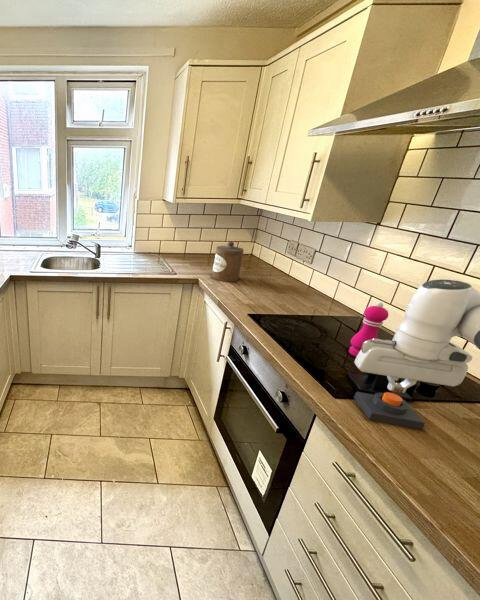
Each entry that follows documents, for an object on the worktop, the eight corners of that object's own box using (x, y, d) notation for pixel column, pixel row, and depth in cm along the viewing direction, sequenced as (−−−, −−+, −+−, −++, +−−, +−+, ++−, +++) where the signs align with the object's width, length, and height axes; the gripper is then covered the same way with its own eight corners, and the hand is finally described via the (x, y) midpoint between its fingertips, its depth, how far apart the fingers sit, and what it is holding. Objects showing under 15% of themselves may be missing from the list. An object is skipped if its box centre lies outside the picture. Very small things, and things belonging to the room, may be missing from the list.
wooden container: (207, 274, 198) (213, 239, 189) (231, 274, 198) (238, 239, 189) (217, 281, 184) (223, 244, 176) (242, 281, 184) (250, 244, 176)
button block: (401, 406, 87) (407, 394, 85) (422, 429, 79) (428, 417, 77) (353, 397, 90) (358, 386, 89) (368, 419, 82) (374, 407, 81)
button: (395, 399, 84) (397, 393, 84) (403, 407, 81) (405, 402, 80) (378, 396, 85) (381, 390, 85) (385, 404, 82) (388, 399, 81)
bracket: (392, 383, 96) (409, 346, 92) (410, 402, 89) (430, 363, 84) (346, 375, 100) (359, 340, 95) (359, 393, 92) (375, 355, 87)
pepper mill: (371, 352, 113) (392, 301, 105) (375, 362, 107) (398, 308, 99) (345, 347, 116) (364, 296, 108) (348, 356, 110) (368, 303, 103)
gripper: (372, 343, 77) (352, 389, 82) (482, 358, 71) (454, 407, 76) (360, 331, 82) (342, 375, 88) (461, 345, 76) (436, 391, 82)
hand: (395, 390), depth 82 cm, fingers closed
